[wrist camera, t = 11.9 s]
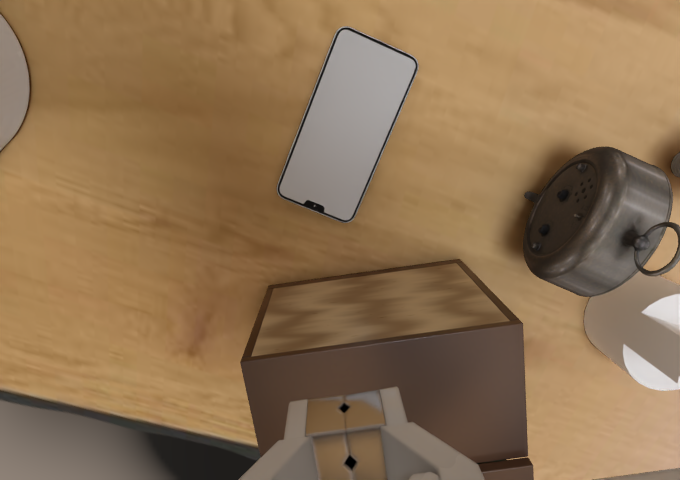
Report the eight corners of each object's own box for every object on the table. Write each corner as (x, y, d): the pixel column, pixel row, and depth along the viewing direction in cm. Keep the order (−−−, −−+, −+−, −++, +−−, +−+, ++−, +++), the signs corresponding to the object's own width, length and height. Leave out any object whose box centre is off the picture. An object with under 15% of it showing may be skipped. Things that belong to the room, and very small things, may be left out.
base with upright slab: (567, 340, 44) (653, 417, 33) (611, 257, 42) (718, 308, 31) (647, 367, 45) (757, 451, 34) (693, 287, 43) (827, 347, 32)
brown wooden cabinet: (289, 395, 45) (270, 522, 31) (268, 285, 42) (237, 368, 28) (468, 371, 45) (534, 487, 31) (460, 258, 42) (528, 328, 28)
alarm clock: (540, 268, 42) (665, 354, 27) (490, 246, 42) (587, 321, 26) (601, 160, 40) (779, 183, 24) (549, 135, 39) (696, 143, 24)
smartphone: (423, 60, 37) (351, 226, 40) (421, 61, 38) (351, 225, 41) (339, 21, 36) (272, 195, 39) (338, 23, 37) (273, 193, 40)
